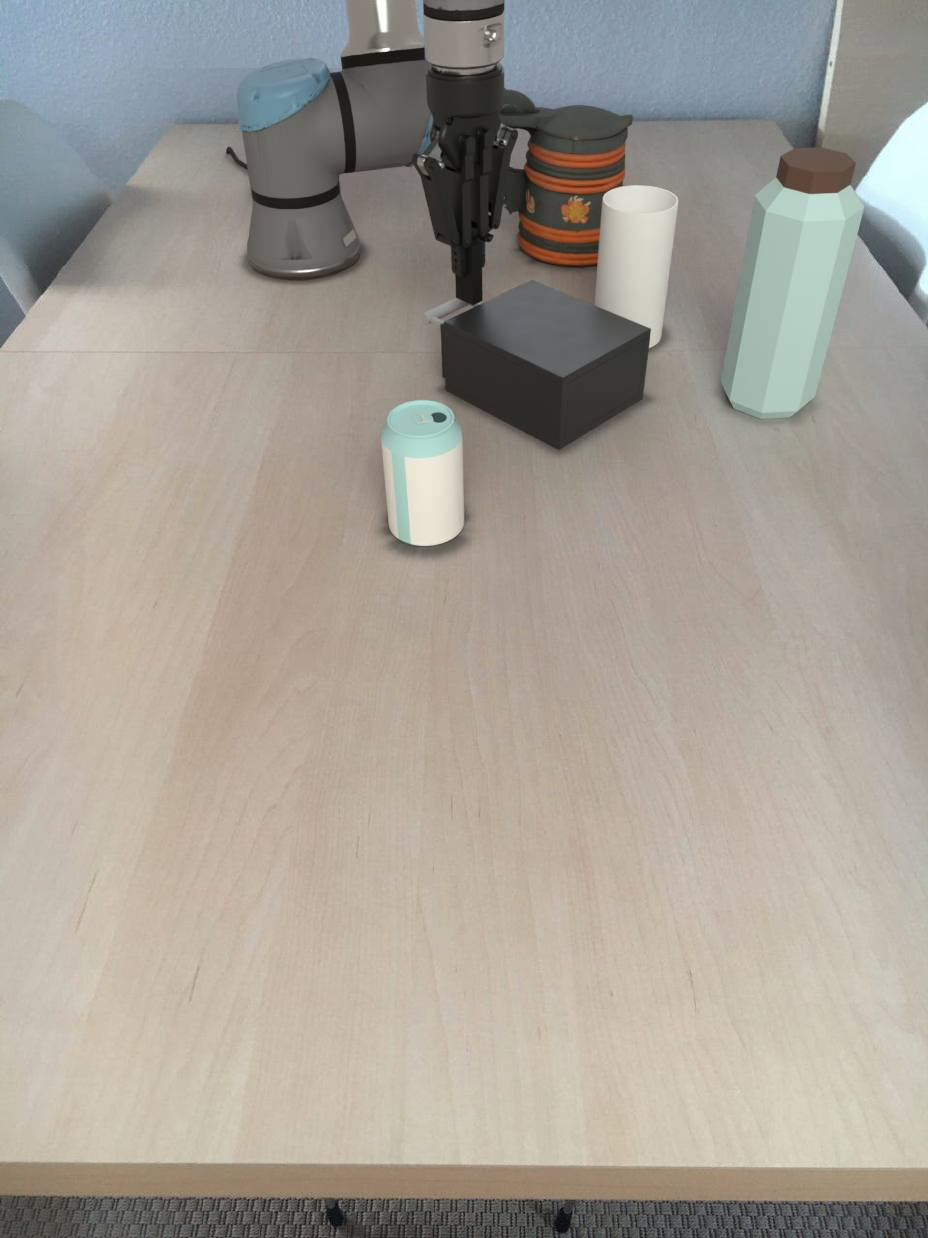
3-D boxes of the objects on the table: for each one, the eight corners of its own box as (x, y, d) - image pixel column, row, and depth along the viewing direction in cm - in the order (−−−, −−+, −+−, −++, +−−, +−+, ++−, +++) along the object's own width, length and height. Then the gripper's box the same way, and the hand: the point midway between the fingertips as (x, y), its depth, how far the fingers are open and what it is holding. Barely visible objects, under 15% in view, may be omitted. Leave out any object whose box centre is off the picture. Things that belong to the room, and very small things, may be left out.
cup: (659, 354, 115) (676, 216, 104) (588, 348, 116) (598, 211, 105) (663, 320, 121) (680, 186, 110) (596, 315, 122) (606, 182, 111)
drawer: (404, 357, 114) (400, 305, 109) (481, 319, 120) (481, 268, 116) (545, 430, 102) (548, 375, 98) (623, 385, 108) (628, 331, 104)
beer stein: (487, 270, 132) (487, 108, 118) (486, 225, 143) (486, 72, 129) (630, 268, 132) (646, 105, 118) (618, 223, 142) (632, 69, 128)
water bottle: (816, 383, 110) (877, 146, 92) (808, 430, 103) (872, 184, 86) (725, 369, 112) (768, 136, 95) (711, 415, 105) (755, 173, 88)
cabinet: (445, 390, 110) (443, 321, 104) (530, 346, 117) (532, 279, 111) (558, 450, 101) (562, 378, 96) (642, 398, 108) (651, 328, 102)
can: (419, 495, 96) (413, 386, 88) (479, 521, 93) (478, 410, 85) (373, 533, 92) (362, 422, 84) (434, 561, 89) (428, 449, 81)
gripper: (442, 86, 89) (450, 330, 105) (540, 56, 95) (533, 290, 111) (387, 70, 93) (403, 308, 109) (485, 42, 99) (486, 270, 115)
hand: (469, 299), depth 110 cm, fingers closed
